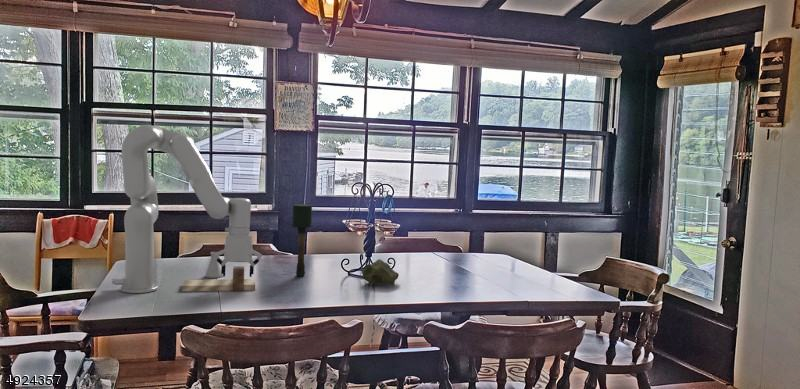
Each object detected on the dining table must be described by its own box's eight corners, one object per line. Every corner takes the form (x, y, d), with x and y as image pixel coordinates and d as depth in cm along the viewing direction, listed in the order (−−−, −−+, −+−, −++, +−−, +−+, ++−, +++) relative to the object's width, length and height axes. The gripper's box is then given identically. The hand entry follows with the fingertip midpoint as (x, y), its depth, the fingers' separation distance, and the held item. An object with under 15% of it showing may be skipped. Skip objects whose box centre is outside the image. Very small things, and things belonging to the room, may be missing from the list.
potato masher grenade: (314, 275, 257) (316, 205, 254) (303, 278, 249) (305, 206, 247) (297, 272, 260) (299, 203, 258) (286, 276, 252) (288, 205, 250)
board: (181, 291, 220) (181, 285, 220) (184, 285, 230) (184, 279, 229) (255, 290, 227) (255, 284, 226) (254, 284, 236) (254, 278, 236)
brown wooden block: (232, 290, 223) (233, 270, 222) (233, 282, 236) (233, 262, 236) (243, 290, 224) (244, 270, 223) (243, 282, 237) (244, 262, 237)
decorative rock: (407, 284, 247) (408, 260, 246) (384, 290, 234) (385, 265, 233) (378, 278, 256) (379, 255, 255) (354, 284, 243) (355, 260, 242)
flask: (220, 278, 243) (220, 254, 242) (202, 278, 243) (202, 253, 242) (225, 275, 250) (225, 251, 250) (207, 274, 250) (208, 250, 249)
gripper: (214, 231, 220) (212, 278, 221) (263, 233, 225) (261, 278, 226) (215, 229, 227) (213, 273, 229) (262, 230, 232) (260, 274, 233)
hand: (237, 276), depth 227 cm, fingers open, 9 cm apart
